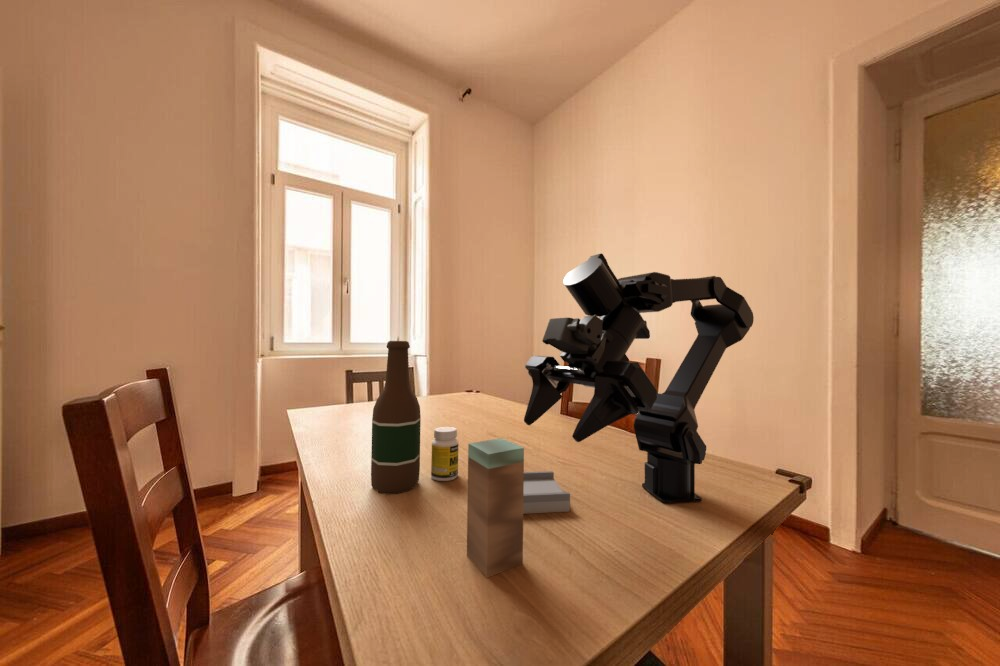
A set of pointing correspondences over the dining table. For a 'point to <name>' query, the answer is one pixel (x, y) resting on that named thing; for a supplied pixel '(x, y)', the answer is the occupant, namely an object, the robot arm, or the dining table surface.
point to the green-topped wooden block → (495, 505)
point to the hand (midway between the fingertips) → (548, 430)
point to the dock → (543, 494)
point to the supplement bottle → (444, 454)
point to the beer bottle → (396, 427)
